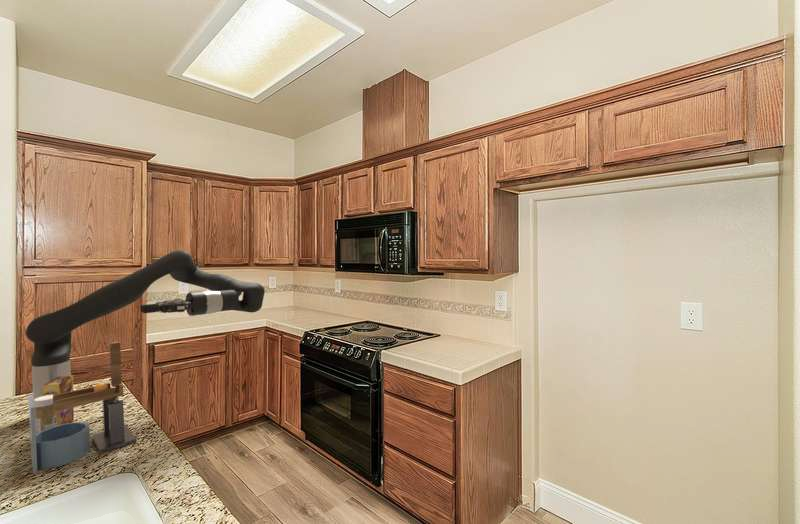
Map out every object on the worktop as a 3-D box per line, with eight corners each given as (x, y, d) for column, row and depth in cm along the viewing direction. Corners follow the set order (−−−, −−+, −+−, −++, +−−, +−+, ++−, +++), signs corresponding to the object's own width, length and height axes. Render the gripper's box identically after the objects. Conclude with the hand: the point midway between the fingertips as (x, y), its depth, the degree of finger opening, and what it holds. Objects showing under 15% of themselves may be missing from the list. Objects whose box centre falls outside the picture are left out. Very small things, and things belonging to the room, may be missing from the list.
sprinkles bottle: (56, 446, 102) (54, 397, 102) (33, 451, 100) (31, 401, 100) (60, 439, 106) (58, 392, 106) (38, 444, 104) (36, 396, 103)
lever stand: (92, 438, 106) (90, 393, 106) (126, 428, 112) (125, 385, 112) (99, 454, 98) (97, 404, 98) (136, 442, 104) (134, 395, 104)
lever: (53, 409, 98) (50, 350, 98) (118, 394, 108) (116, 340, 108) (55, 417, 94) (52, 354, 93) (123, 400, 104) (121, 343, 104)
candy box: (61, 435, 108) (58, 383, 108) (42, 438, 107) (39, 385, 107) (75, 422, 117) (73, 374, 116) (58, 425, 115) (56, 376, 115)
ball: (91, 394, 102) (91, 384, 102) (104, 391, 105) (103, 380, 105) (97, 396, 101) (97, 385, 101) (110, 392, 104) (109, 382, 104)
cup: (31, 457, 97) (28, 396, 96) (86, 441, 105) (83, 384, 105) (33, 474, 89) (30, 408, 89) (92, 455, 97) (90, 394, 97)
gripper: (196, 290, 127) (135, 295, 115) (212, 292, 118) (147, 298, 105) (197, 312, 128) (136, 319, 115) (212, 316, 118) (148, 324, 106)
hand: (142, 309), depth 110 cm, fingers closed
